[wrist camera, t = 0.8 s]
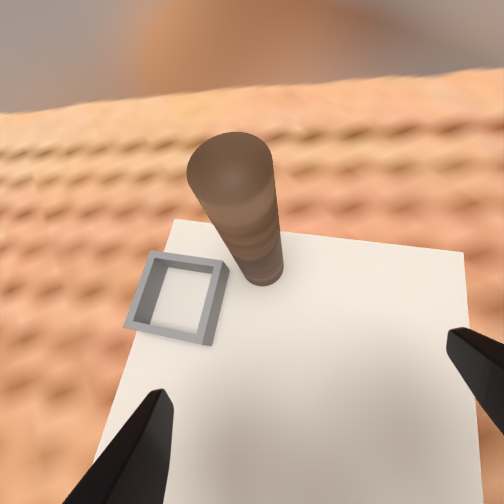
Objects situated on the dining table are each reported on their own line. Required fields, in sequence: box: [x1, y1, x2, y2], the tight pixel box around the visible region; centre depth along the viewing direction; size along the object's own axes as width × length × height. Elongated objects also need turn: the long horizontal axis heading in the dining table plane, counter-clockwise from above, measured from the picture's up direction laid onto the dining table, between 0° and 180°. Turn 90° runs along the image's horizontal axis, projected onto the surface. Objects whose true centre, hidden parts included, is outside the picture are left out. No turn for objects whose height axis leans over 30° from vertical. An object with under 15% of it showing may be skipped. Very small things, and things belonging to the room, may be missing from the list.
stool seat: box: [92, 219, 484, 504], centre depth 19 cm, size 25×25×4 cm
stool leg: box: [187, 132, 284, 287], centre depth 17 cm, size 4×4×13 cm
